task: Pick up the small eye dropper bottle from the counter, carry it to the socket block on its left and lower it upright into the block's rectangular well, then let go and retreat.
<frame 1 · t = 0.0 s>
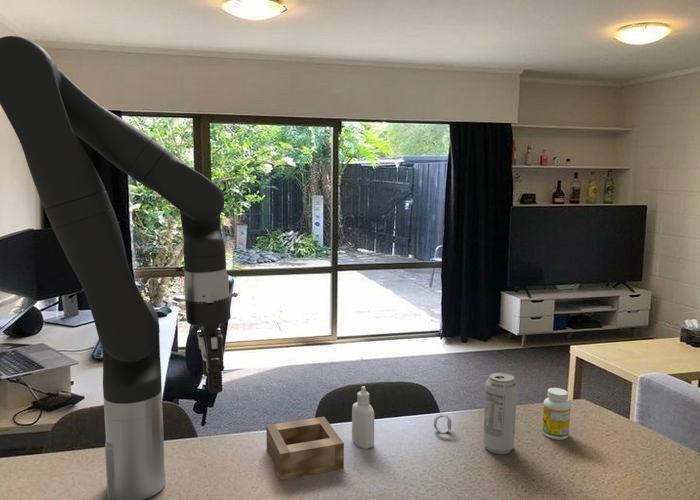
hand: (212, 383, 99), 17 cm above the kitchen counter, tool pointing down, fingers open, 8 cm apart
energy drink can: (498, 448, 112), on the kitchen counter
eye dropper bottle: (362, 444, 113), on the kitchen counter
supplement bottle: (555, 435, 118), on the kitchen counter
smartwatch: (442, 432, 119), on the kitchen counter
socket block: (303, 458, 107), on the kitchen counter
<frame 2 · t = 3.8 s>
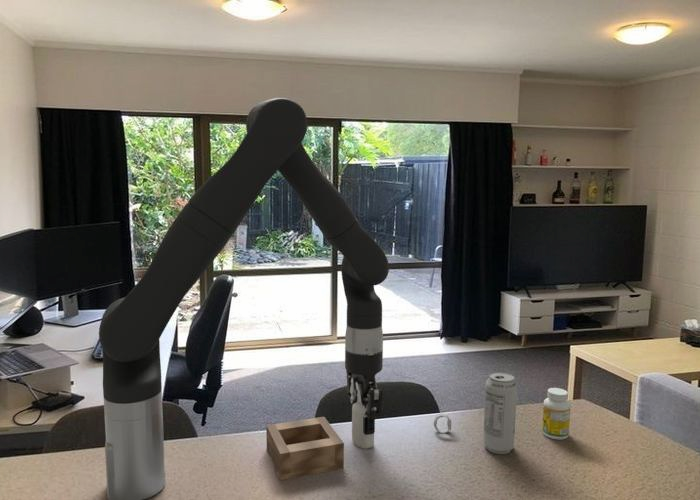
hand: (363, 426, 113), 4 cm above the kitchen counter, tool pointing down, fingers closed on eye dropper bottle, 5 cm apart
eye dropper bottle: (362, 443, 113), on the kitchen counter, touching gripper
everything else where it was.
when the fingers open (6 cm above the kitchen counter, at t = 8.8 s): eye dropper bottle drops 1 cm, resting on socket block.
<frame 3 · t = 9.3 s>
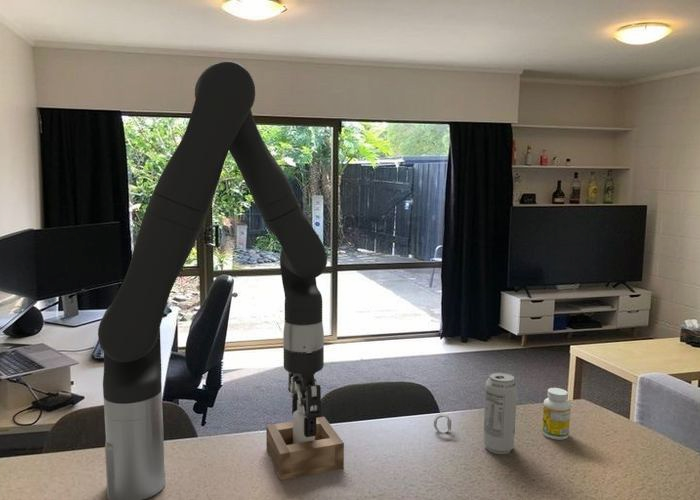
hand: (303, 426, 106), 7 cm above the kitchen counter, tool pointing down, fingers open, 8 cm apart
eye dropper bottle: (303, 454, 107), point 1 cm above the kitchen counter, touching socket block
everything else where it was.
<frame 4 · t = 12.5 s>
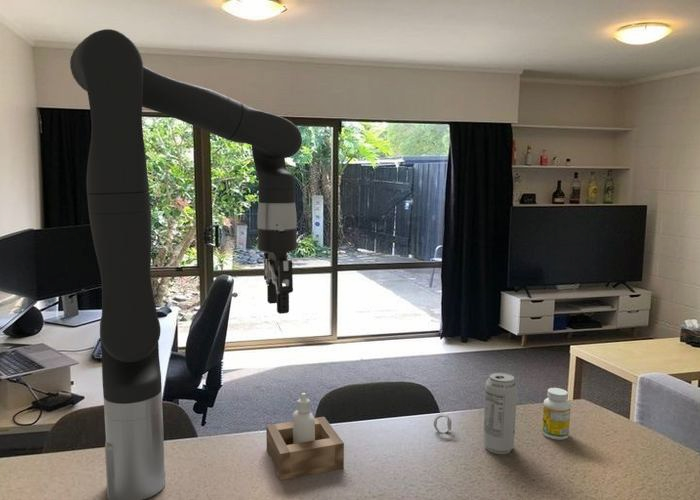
hand: (277, 307, 110), 28 cm above the kitchen counter, tool pointing down, fingers open, 8 cm apart
nothing on the kitchen counter moved.
at the end: eye dropper bottle inside the target area on the socket block (0.1 cm from its centre), point 0.9 cm above the socket block's base; eye dropper bottle tilted 0°; the gripper is holding nothing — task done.
